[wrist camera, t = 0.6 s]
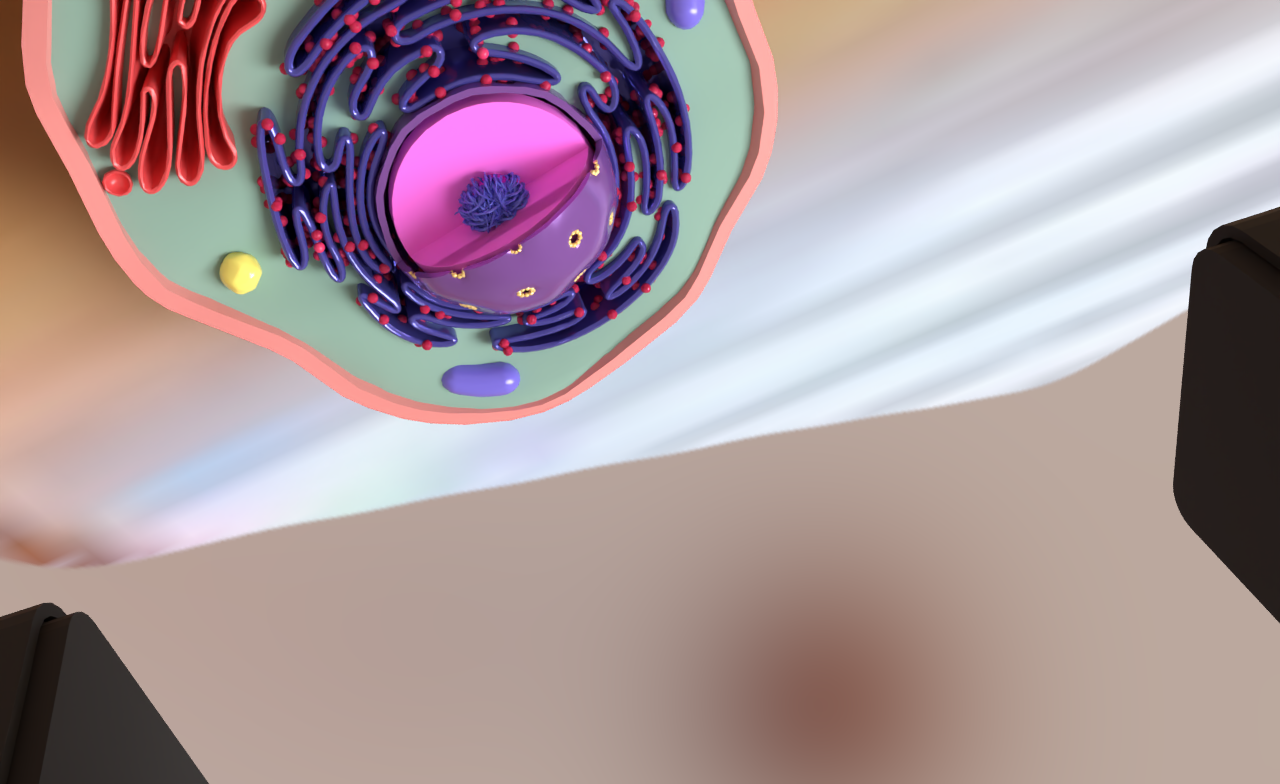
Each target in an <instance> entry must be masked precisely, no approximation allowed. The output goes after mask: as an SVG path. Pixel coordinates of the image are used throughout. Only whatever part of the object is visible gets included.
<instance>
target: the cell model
mask: <svg viewBox="0 0 1280 784" xmlns="http://www.w3.org/2000/svg"><path fill="white" fill-rule="evenodd" d="M21 47H22V56H23V66H24V75H25V85H26V88H27V91H28V93H29V96H30V99H31V101H32V104H33V107H34V110H35V112H36V114H37V116H38V118H39V120H40V122H41V123H42V125H43V127H44V129H45V131H46V132H47V134H48V136H49V138H50V140H51V141H52V143H53V145H54V147H55V149H56V150H57V152H58V154H59V156H60V158H61V159H62V161H63V163H64V165H65V167H66V168H67V170H68V172H69V174H70V176H71V178H72V180H73V182H74V184H75V186H76V188H77V190H78V192H79V194H80V196H81V199H82V201H83V203H84V205H85V207H86V209H87V211H88V213H89V215H90V217H91V219H92V221H93V223H94V225H95V227H96V229H97V231H98V233H99V235H100V237H101V238H102V240H103V241H104V243H105V245H106V246H107V248H108V249H109V251H110V253H111V254H112V256H113V258H114V259H115V260H116V262H117V263H118V264H119V265H120V267H121V268H122V269H123V270H124V272H125V273H126V274H127V275H128V277H129V278H130V279H131V280H132V282H133V283H134V284H135V285H136V286H137V287H138V288H139V289H140V290H141V291H142V292H143V293H144V294H145V295H147V296H148V297H150V298H151V299H153V300H154V301H156V302H157V303H159V304H160V305H162V306H164V307H165V308H167V309H169V310H171V311H174V312H176V313H179V314H181V315H184V316H186V317H189V318H191V319H193V320H196V321H198V322H201V323H204V324H206V325H209V326H211V327H214V328H216V329H219V330H221V331H224V332H227V333H229V334H232V335H234V336H237V337H239V338H242V339H244V340H247V341H250V342H252V343H255V344H257V345H260V346H262V347H265V348H267V349H270V350H272V351H274V352H276V353H278V354H280V355H282V356H284V357H286V358H288V359H290V360H292V361H294V362H295V363H296V364H298V365H299V366H301V367H302V368H303V369H305V370H306V371H308V372H309V373H311V374H312V375H313V376H315V377H316V378H318V379H319V380H320V381H322V382H323V383H325V384H326V385H328V386H329V387H330V388H332V389H333V390H335V391H336V392H337V393H339V394H340V395H342V396H343V397H345V398H348V399H350V400H352V401H354V402H356V403H359V404H361V405H363V406H365V407H368V408H370V409H373V410H377V411H380V412H383V413H386V414H390V415H393V416H396V417H399V418H402V419H408V420H414V421H420V422H426V423H438V424H463V425H466V424H477V423H488V422H499V421H509V420H514V419H518V418H522V417H526V416H530V415H534V414H538V413H542V412H545V411H547V410H549V409H552V408H554V407H556V406H558V405H561V404H563V403H565V402H567V401H569V400H571V399H572V398H574V397H576V396H577V395H579V394H581V393H582V392H584V391H586V390H587V389H589V388H590V387H592V386H593V385H595V384H596V383H597V382H599V381H600V380H602V379H603V378H604V377H606V376H607V375H609V374H610V373H611V372H613V371H614V370H616V369H617V368H618V367H620V366H621V365H623V364H624V363H625V362H627V361H628V360H629V359H631V358H632V357H633V356H634V355H636V354H637V353H638V352H639V351H641V350H642V349H643V348H644V347H646V346H647V345H648V344H649V343H651V342H652V341H653V340H654V339H656V338H657V337H658V336H659V335H661V334H662V333H663V332H664V331H666V330H667V329H668V328H669V327H671V326H672V325H673V324H674V323H676V322H677V321H678V319H679V318H680V317H681V316H682V315H683V314H684V313H685V312H686V311H687V310H688V309H689V308H690V306H691V305H692V304H693V303H694V302H695V301H696V300H697V299H698V297H699V296H700V294H701V292H702V291H703V289H704V287H705V286H706V284H707V282H708V281H709V279H710V277H711V275H712V273H713V270H714V268H715V266H716V264H717V262H718V259H719V257H720V255H721V253H722V250H723V248H724V246H725V244H726V242H727V239H728V237H729V235H730V233H731V231H732V229H733V227H734V226H735V224H736V222H737V220H738V219H739V217H740V215H741V214H742V212H743V210H744V208H745V207H746V205H747V203H748V202H749V200H750V198H751V197H752V195H753V193H754V191H755V190H756V188H757V186H758V185H759V183H760V181H761V180H762V177H763V175H764V172H765V169H766V166H767V164H768V161H769V158H770V155H771V152H772V147H773V141H774V136H775V130H776V125H777V108H778V88H777V81H776V74H775V67H774V60H773V56H772V53H771V51H770V48H769V45H768V43H767V40H766V37H765V35H764V32H763V29H762V26H761V24H760V21H759V18H758V16H757V13H756V10H755V8H754V5H753V2H752V0H23V12H22V40H21Z"/></svg>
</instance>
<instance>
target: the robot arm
mask: <svg viewBox="0 0 1280 784" xmlns="http://www.w3.org/2000/svg"><path fill="white" fill-rule="evenodd" d="M1173 489H1174V490H1173V492H1174V496H1175V500H1176V503H1177V506H1178V508H1179V510H1180V513H1181V515H1182V516H1183V518H1184V520H1185V521H1186V522H1187V524H1188V525H1189V526H1190V528H1191V529H1192V530H1193V531H1194V532H1195V533H1196V534H1197V535H1198V536H1199V537H1200V538H1201V539H1202V540H1203V541H1204V543H1205V544H1207V546H1208V547H1209V548H1210V549H1211V550H1212V551H1213V552H1214V553H1215V554H1216V555H1217V557H1218V558H1219V559H1220V560H1221V561H1222V562H1223V563H1224V564H1225V565H1226V566H1227V567H1228V568H1229V569H1230V570H1231V571H1232V573H1233V574H1234V575H1235V576H1236V577H1237V578H1238V579H1239V580H1240V581H1241V582H1242V583H1243V584H1244V585H1245V586H1246V588H1247V589H1248V590H1249V591H1250V592H1251V593H1252V594H1253V595H1254V596H1255V597H1256V598H1257V599H1258V600H1259V601H1260V602H1261V604H1262V605H1263V606H1264V607H1265V608H1266V609H1267V610H1268V611H1269V612H1270V613H1271V614H1272V615H1273V616H1274V617H1275V619H1276V620H1277V621H1278V622H1279V623H1280V207H1278V208H1275V209H1272V210H1269V211H1265V212H1262V213H1259V214H1256V215H1253V216H1250V217H1247V218H1244V219H1240V220H1237V221H1234V222H1231V223H1228V224H1225V225H1222V226H1220V227H1218V228H1217V229H1215V230H1214V231H1213V232H1212V234H1211V235H1210V237H1209V238H1208V242H1207V247H1206V249H1204V250H1202V251H1200V252H1198V253H1197V255H1196V257H1195V258H1194V261H1193V265H1192V273H1191V284H1190V296H1189V307H1188V319H1187V331H1186V342H1185V353H1184V365H1183V377H1182V388H1181V400H1180V411H1179V423H1178V434H1177V446H1176V457H1175V469H1174V480H1173ZM0 784H209V783H208V782H207V780H206V779H205V778H204V776H203V775H202V773H201V772H200V771H199V769H198V768H197V767H196V765H195V764H194V762H193V761H192V759H191V758H190V756H189V755H188V754H187V752H186V751H185V749H184V748H183V747H182V745H181V744H180V743H179V741H178V740H177V738H176V737H175V735H174V734H173V733H172V731H171V730H170V728H169V727H168V725H167V724H166V723H165V721H164V720H163V718H162V717H161V716H160V714H159V713H158V711H157V710H156V709H155V707H154V706H153V704H152V703H151V702H150V700H149V699H148V697H147V696H146V695H145V693H144V692H143V690H142V689H141V688H140V686H139V685H138V683H137V682H136V680H135V679H134V678H133V676H132V675H131V673H130V672H129V671H128V669H127V668H126V666H125V665H124V664H123V662H122V661H121V659H120V658H119V657H118V655H117V654H116V652H115V651H114V649H113V648H112V647H111V645H110V644H109V642H108V641H107V640H106V638H105V637H104V635H103V634H102V633H101V631H100V630H99V628H98V627H97V625H96V624H95V623H94V622H93V620H92V619H91V618H90V617H89V616H88V615H87V614H85V613H83V612H76V613H73V614H69V615H66V614H65V613H64V612H63V611H62V609H61V608H59V607H58V606H56V605H54V604H53V603H42V604H39V605H36V606H33V607H30V608H27V609H24V610H20V611H17V612H14V613H11V614H8V615H5V616H2V617H0Z"/></svg>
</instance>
